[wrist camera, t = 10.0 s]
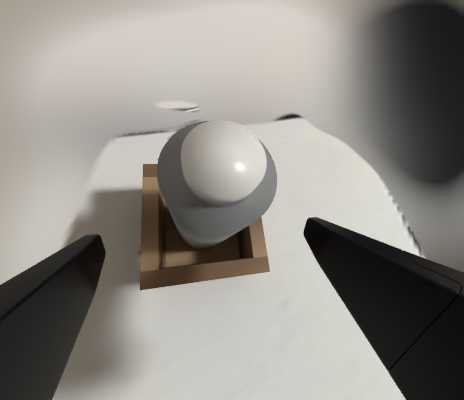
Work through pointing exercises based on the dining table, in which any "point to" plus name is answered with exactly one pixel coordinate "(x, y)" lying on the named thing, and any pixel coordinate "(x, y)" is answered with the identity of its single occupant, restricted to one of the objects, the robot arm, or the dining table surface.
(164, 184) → the white rounded cylinder
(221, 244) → the end holder
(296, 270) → the dining table surface
